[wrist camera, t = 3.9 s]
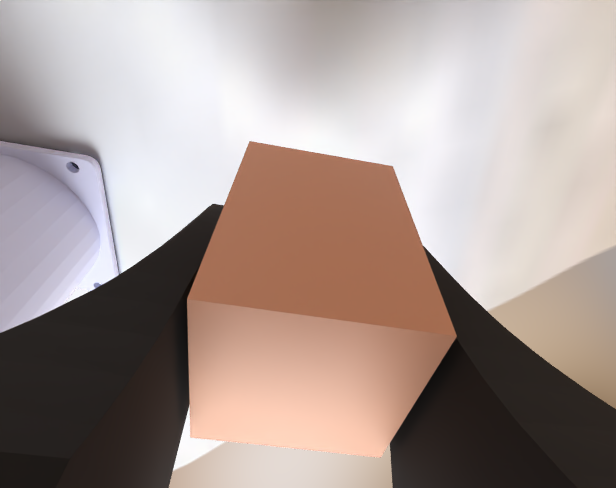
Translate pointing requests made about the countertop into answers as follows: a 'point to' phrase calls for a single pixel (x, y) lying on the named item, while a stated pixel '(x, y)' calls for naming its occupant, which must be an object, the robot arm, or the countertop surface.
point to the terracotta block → (312, 308)
